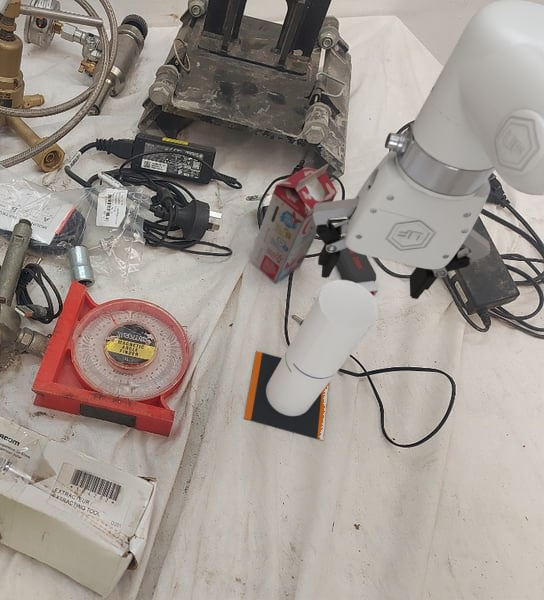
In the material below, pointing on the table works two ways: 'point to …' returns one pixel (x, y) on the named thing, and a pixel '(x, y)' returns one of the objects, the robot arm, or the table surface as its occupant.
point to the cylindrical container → (321, 345)
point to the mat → (266, 414)
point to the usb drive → (357, 269)
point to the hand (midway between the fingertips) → (368, 278)
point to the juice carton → (290, 223)
